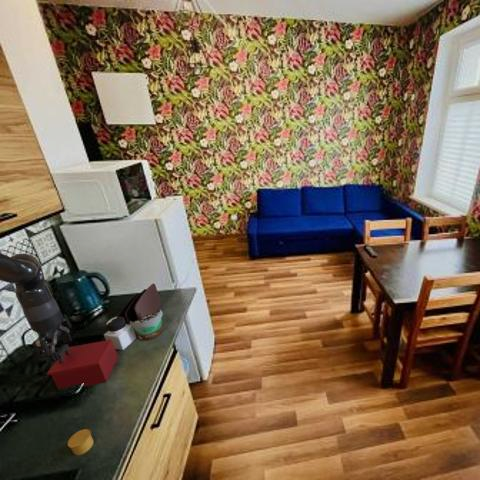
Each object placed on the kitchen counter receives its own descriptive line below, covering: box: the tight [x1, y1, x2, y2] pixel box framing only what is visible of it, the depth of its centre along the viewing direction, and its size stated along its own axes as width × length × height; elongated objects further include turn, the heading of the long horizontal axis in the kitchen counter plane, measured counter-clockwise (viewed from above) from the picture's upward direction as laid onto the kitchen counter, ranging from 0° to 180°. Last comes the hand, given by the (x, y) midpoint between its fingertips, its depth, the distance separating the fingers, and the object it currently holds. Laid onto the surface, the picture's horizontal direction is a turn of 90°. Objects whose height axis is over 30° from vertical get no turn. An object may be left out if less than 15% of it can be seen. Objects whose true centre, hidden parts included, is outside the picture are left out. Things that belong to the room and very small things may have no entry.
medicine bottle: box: [103, 316, 138, 351], centre depth 110 cm, size 7×7×12 cm
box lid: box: [46, 339, 112, 376], centre depth 94 cm, size 14×12×5 cm
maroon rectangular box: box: [50, 342, 119, 390], centre depth 97 cm, size 14×12×8 cm
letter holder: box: [116, 282, 162, 331], centre depth 124 cm, size 10×20×14 cm, turn 8°
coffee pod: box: [67, 428, 94, 456], centre depth 75 cm, size 5×5×4 cm
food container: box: [130, 307, 164, 341], centre depth 114 cm, size 12×6×10 cm, turn 137°
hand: (61, 351), depth 92 cm, fingers open, 8 cm apart
